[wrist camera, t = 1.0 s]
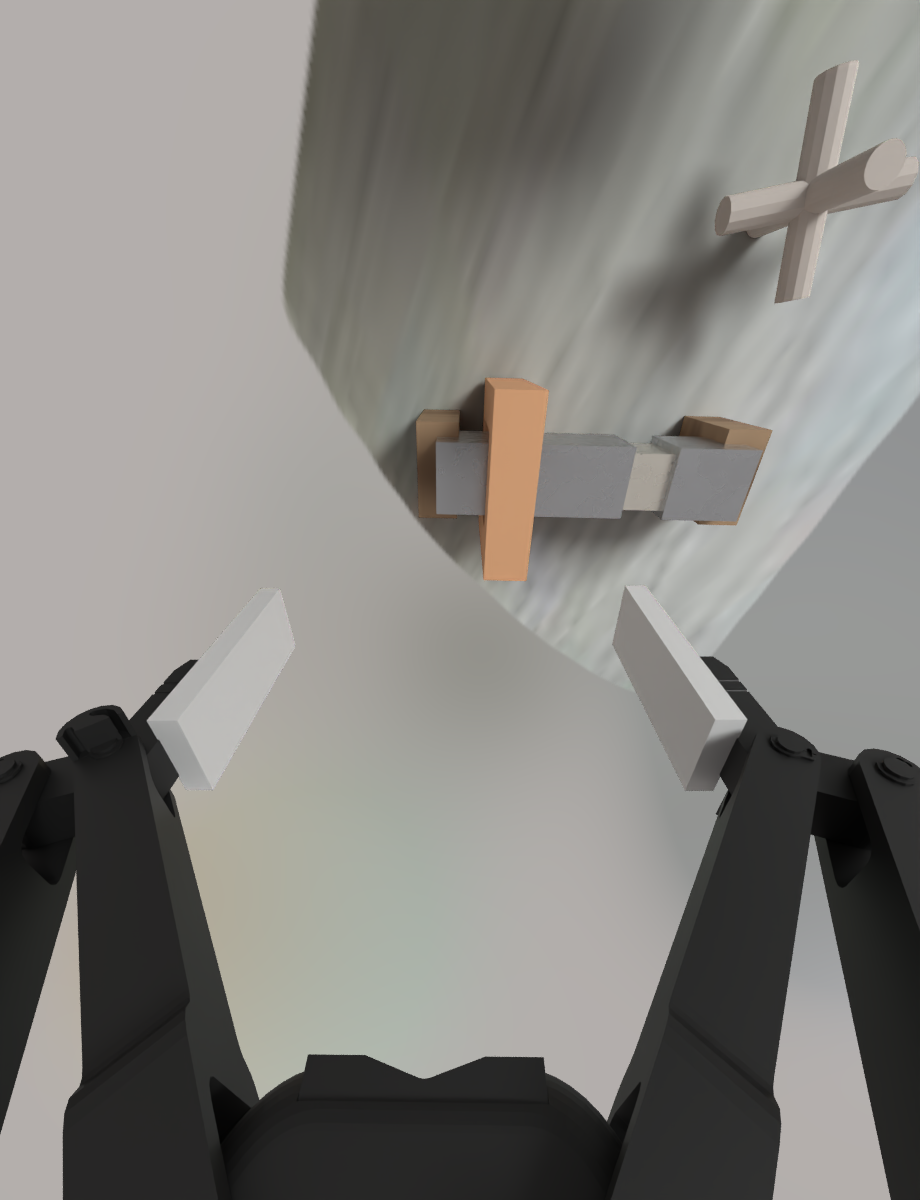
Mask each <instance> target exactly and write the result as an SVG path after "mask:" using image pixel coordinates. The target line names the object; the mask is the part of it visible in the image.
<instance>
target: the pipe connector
mask: <svg viewBox="0 0 920 1200" xmlns="http://www.w3.org/2000/svg"><path fill="white" fill-rule="evenodd" d="M858 66H859V61H858V60H855V61H849V62H845V63H842V64H839V65H837V66H835V67H833V68H830V69H828V70H826V71H825V72H823V73H821V74H820V75H818V76H817V77H816V78H815V80H814V83H813V89H812V95H811V100H810V106H809V112H808V117H807V123H806V128H805V134H804V140H803V145H802V151H801V156H800V162H799V168H798V173H797V179H796V181H794V182H789V183H785V184H780V185H775V186H771V187H766V188H761V189H757V190H752V191H747V192H743V193H738V194H734V195H729V196H725V197H724V198H723V199H722V201H721V202H720V205H719V207H718V209H717V213H716V218H715V231H716V234H717V235H718V236H723V235H728V234H733V233H737V232H742V231H747V233H748V235H749V236H750V237H752V238H758V237H761V236H763V235H766V234H768V233H771V232H773V231H776V230H779V229H781V228H784V227H786V226H788V229H787V235H786V241H785V246H784V252H783V258H782V263H781V269H780V274H779V280H778V286H777V291H776V297H775V302H774V303H780V302H786V301H792V300H797V299H803V298H808V297H810V293H811V288H812V283H813V278H814V274H815V269H816V264H817V260H818V255H819V250H820V245H821V241H822V236H823V231H824V226H825V222H826V217H827V214H829V213H834V212H839V211H844V210H849V209H853V208H858V207H863V206H868V205H873V204H878V203H882V202H887V201H892V200H897V199H899V198H900V197H902V196H903V195H905V194H906V192H907V191H908V190H909V189H910V187H911V186H912V185H913V183H914V180H915V178H916V176H917V173H918V166H919V162H918V160H917V158H916V156H915V157H906V146H905V144H904V142H903V141H902V140H900V139H897V138H894V139H889V140H887V141H885V142H883V143H881V144H879V145H877V146H875V147H873V148H871V149H869V150H867V151H865V152H863V153H861V154H859V155H857V156H855V157H853V158H851V159H849V160H847V161H845V162H843V163H841V164H839V165H838V160H839V156H840V151H841V146H842V142H843V137H844V132H845V127H846V123H847V118H848V113H849V109H850V104H851V99H852V94H853V90H854V85H855V80H856V75H857V71H858Z"/></svg>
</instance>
